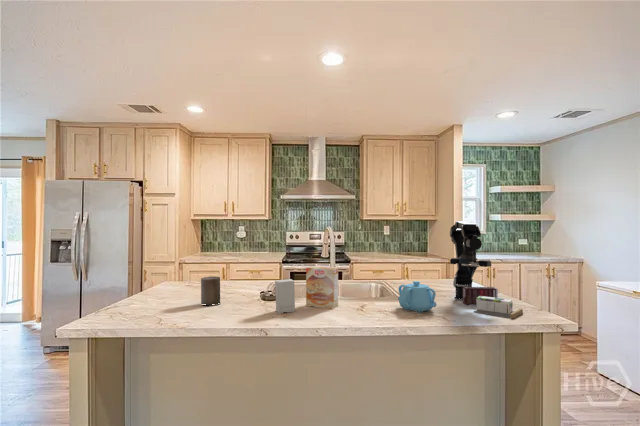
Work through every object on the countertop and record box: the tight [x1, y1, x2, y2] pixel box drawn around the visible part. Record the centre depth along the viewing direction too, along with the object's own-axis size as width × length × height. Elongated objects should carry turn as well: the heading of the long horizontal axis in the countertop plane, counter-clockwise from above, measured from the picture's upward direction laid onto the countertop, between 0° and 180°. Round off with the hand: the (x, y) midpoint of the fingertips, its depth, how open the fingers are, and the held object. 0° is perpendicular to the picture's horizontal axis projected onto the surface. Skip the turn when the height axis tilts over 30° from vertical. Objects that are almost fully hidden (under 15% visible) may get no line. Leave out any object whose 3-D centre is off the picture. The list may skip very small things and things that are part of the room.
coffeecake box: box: [305, 265, 339, 309], centre depth 186 cm, size 15×7×20 cm, turn 68°
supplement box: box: [462, 286, 499, 306], centre depth 187 cm, size 9×5×16 cm
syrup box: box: [476, 296, 514, 314], centre depth 173 cm, size 6×6×14 cm
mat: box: [473, 308, 524, 320], centre depth 170 cm, size 17×13×2 cm
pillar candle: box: [200, 276, 221, 305], centre depth 191 cm, size 10×10×15 cm
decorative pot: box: [397, 280, 437, 314], centre depth 177 cm, size 16×16×14 cm
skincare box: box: [274, 278, 296, 314], centre depth 175 cm, size 8×6×15 cm
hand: (470, 279), depth 185 cm, fingers closed
